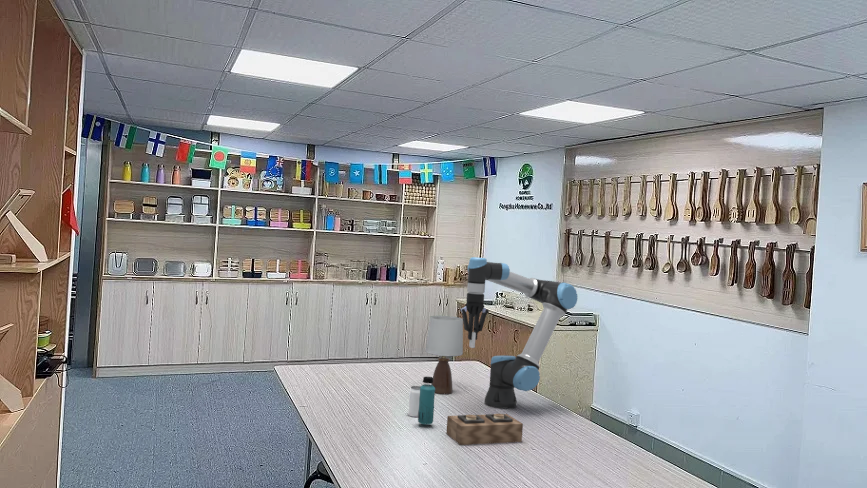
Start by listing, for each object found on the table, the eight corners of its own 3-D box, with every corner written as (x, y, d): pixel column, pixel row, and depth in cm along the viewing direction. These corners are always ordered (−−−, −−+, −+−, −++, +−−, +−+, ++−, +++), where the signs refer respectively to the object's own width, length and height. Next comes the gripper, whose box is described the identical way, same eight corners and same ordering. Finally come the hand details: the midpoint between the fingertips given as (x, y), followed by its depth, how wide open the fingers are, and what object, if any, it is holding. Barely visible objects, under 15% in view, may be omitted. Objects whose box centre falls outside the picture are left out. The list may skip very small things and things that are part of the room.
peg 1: (472, 434, 257) (473, 414, 257) (476, 437, 253) (478, 417, 253) (463, 434, 255) (464, 414, 255) (467, 437, 252) (468, 417, 252)
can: (421, 418, 278) (423, 390, 277) (406, 416, 279) (408, 388, 279) (424, 414, 284) (426, 386, 284) (410, 412, 285) (411, 385, 285)
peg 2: (500, 432, 261) (501, 413, 261) (504, 436, 257) (505, 416, 257) (490, 433, 260) (492, 413, 260) (495, 436, 256) (496, 416, 256)
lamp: (467, 394, 325) (472, 320, 324) (436, 397, 314) (441, 321, 314) (445, 386, 340) (450, 315, 340) (415, 388, 330) (420, 315, 329)
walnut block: (505, 430, 267) (506, 411, 267) (521, 441, 254) (523, 421, 254) (446, 433, 258) (447, 413, 258) (460, 445, 245) (461, 423, 245)
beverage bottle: (435, 425, 269) (438, 376, 269) (429, 429, 263) (433, 379, 262) (420, 422, 271) (423, 374, 271) (414, 426, 265) (418, 377, 265)
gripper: (485, 292, 289) (481, 345, 290) (458, 291, 285) (454, 345, 285) (493, 294, 282) (489, 348, 283) (465, 293, 278) (461, 348, 278)
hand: (471, 347), depth 284 cm, fingers closed
